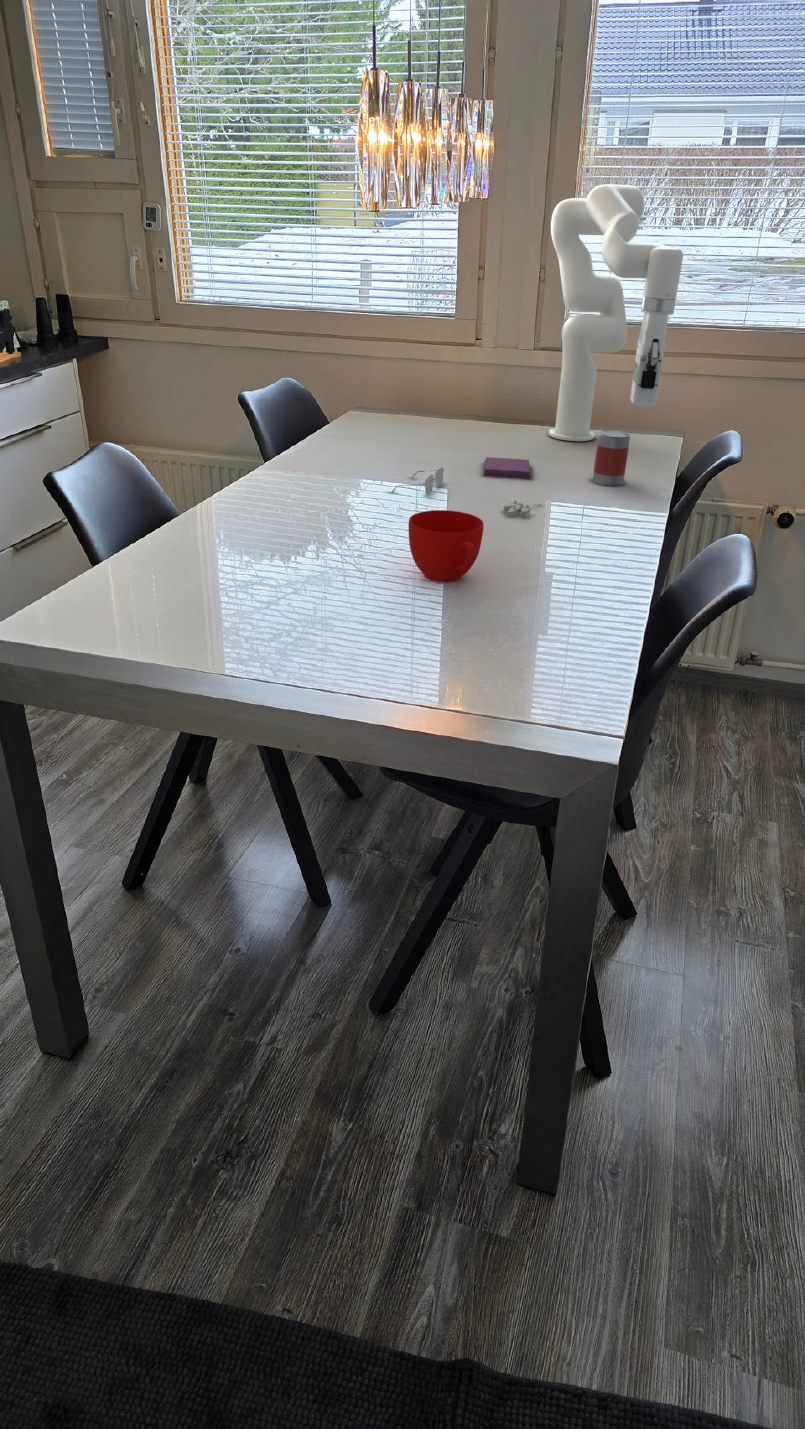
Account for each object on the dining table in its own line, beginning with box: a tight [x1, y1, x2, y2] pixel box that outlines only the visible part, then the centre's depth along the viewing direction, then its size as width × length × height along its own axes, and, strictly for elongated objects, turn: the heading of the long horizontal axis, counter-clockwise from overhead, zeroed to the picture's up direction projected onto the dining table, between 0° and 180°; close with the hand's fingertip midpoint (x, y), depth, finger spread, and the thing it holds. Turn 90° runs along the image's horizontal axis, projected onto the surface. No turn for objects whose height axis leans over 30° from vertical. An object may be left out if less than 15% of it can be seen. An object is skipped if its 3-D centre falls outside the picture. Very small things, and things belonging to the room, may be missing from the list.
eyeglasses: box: [391, 467, 445, 496], centre depth 226 cm, size 14×8×4 cm, turn 160°
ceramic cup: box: [408, 509, 485, 583], centre depth 173 cm, size 13×17×10 cm
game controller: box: [503, 499, 541, 518], centre depth 213 cm, size 6×12×3 cm, turn 158°
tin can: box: [592, 430, 631, 487], centre depth 235 cm, size 7×7×11 cm
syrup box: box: [629, 339, 666, 408], centre depth 241 cm, size 6×6×14 cm
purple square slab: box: [483, 456, 531, 480], centre depth 242 cm, size 12×11×2 cm
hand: (645, 384), depth 242 cm, fingers closed on syrup box, 6 cm apart
